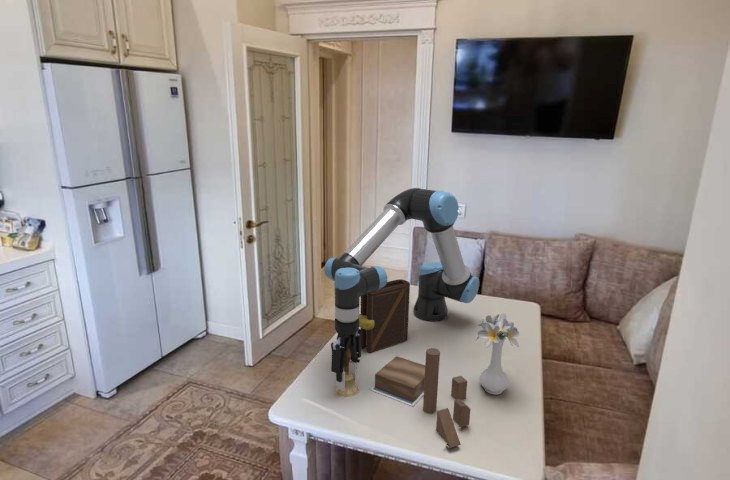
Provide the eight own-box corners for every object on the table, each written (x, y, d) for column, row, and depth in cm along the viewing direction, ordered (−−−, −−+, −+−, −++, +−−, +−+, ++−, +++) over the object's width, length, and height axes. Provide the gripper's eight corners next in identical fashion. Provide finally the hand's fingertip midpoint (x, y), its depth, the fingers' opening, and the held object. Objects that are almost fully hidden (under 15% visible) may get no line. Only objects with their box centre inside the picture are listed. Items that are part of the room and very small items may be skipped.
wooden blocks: (449, 448, 119) (454, 382, 114) (413, 406, 137) (416, 347, 132) (500, 432, 126) (507, 368, 121) (459, 394, 143) (464, 337, 138)
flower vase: (510, 376, 154) (517, 308, 148) (515, 407, 137) (523, 333, 131) (471, 371, 157) (477, 304, 151) (471, 401, 140) (477, 328, 133)
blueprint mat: (396, 367, 159) (396, 365, 159) (437, 381, 150) (437, 379, 150) (368, 391, 144) (368, 389, 144) (412, 408, 136) (413, 406, 136)
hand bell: (330, 387, 146) (329, 342, 142) (353, 381, 149) (354, 338, 145) (338, 401, 139) (338, 354, 135) (363, 395, 142) (364, 349, 138)
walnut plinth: (395, 368, 156) (396, 356, 155) (432, 381, 149) (433, 368, 148) (374, 387, 145) (375, 373, 144) (413, 402, 138) (413, 388, 136)
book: (397, 335, 183) (400, 277, 176) (411, 344, 176) (413, 284, 169) (352, 349, 171) (352, 288, 165) (364, 359, 164) (365, 295, 158)
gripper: (354, 305, 147) (353, 368, 153) (318, 325, 132) (319, 394, 138) (373, 310, 143) (371, 375, 149) (338, 332, 128) (338, 402, 134)
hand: (346, 384), depth 144 cm, fingers closed on hand bell, 6 cm apart
